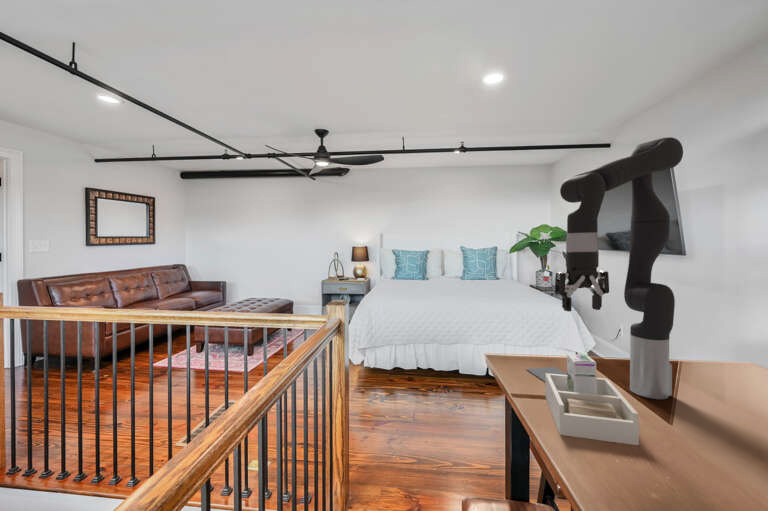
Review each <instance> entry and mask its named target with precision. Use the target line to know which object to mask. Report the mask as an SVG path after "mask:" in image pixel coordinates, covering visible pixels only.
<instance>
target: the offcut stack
mask: <svg viewBox="0 0 768 511" xmlns="http://www.w3.org/2000/svg"><path fill="white" fill-rule="evenodd" d="M567 407H568V408H567V413H570V414H579V415H588V416H596V417H605V418H613V419H622V418H621V417H620V416H619V415H618V414H617V413H616V411H615V409H614V408H613V406H612V405H611V404H606V403H598V402H590V401H582V400H574V399H567ZM622 420H623V419H622Z"/></svg>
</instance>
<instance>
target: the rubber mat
mask: <svg viewBox="0 0 768 511" xmlns="http://www.w3.org/2000/svg"><path fill="white" fill-rule="evenodd" d="M525 370H526V371H527V372H529V373H530V374H532V375H533V376H535V377H536V378H538V380H541V381H542V382H544V383H545V373H549V374H560V375H567V372H565V371H563V370H561V369H559V368H558V367H555V366H550V367H549V366H548V367H534V368H526V369H525Z"/></svg>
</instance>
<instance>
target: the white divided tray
mask: <svg viewBox="0 0 768 511" xmlns="http://www.w3.org/2000/svg"><path fill="white" fill-rule="evenodd" d="M596 378H597V394H587V393H577V392H567V375H560V374H549V373H545V382H544V383H545V392H544V394H545V399H546V402H547V405H548V407H549V410H550V413H551V415H552V418H553V421H554V423H555V426H556V428H557V430H558V434H559V435H560V436H567V437H574V438H579V439H580V438H582V439H589V440H595V441H601V442H602V441H603V442H604V441H605V442H611V443H616V444H617V443H619V444H624V445H633V446H639V445H640V423H639V413H638V412H637V410H636V409H635V408H634V407H633V405H632V404H630V403H629V402H628V400H627V399H626V398H625V396H623V395H622V394H621V392H620V391H619V390H618V389H617V388H616V386H614V384H613V383H612V382H611V381H610V380H609V378H605V377H604V378H603V377H596ZM567 399H574V400H582V401H590V402H598V403H606V404H611V405H612V406H613V408H614V409H615V411H616V413H617V414H618V415H619V416H620V417H621V418H622V419H623V420H622V419H613V418H605V417H596V416H588V415H579V414H570V413H567V408H568V407H567Z"/></svg>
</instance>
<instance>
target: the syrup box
mask: <svg viewBox="0 0 768 511" xmlns="http://www.w3.org/2000/svg"><path fill="white" fill-rule="evenodd" d="M566 361H567V362H566V374H567V392H577V393H587V394H597V378H598V377H597V362H596V360H594V359H592V358H591V356H589V355H586V354H579V353H578V354H575V353H574V354H567V355H566Z"/></svg>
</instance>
